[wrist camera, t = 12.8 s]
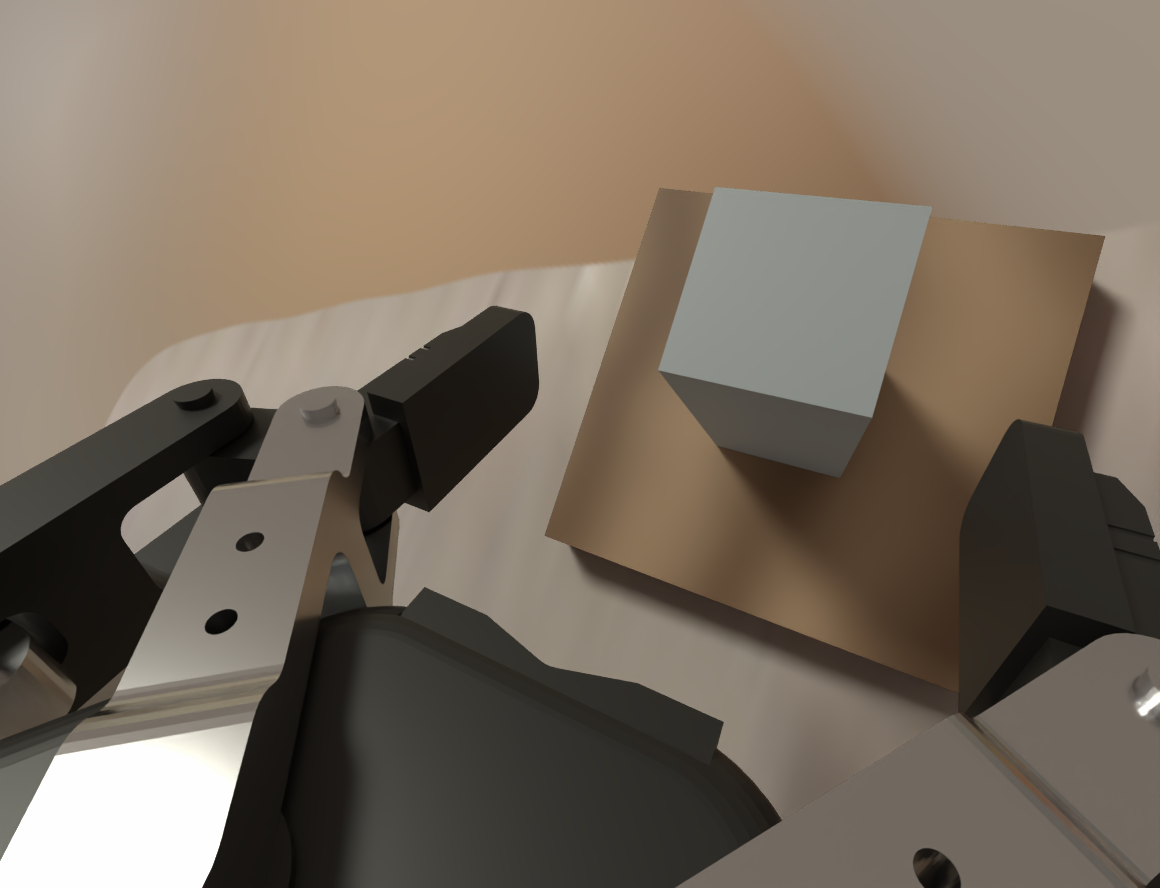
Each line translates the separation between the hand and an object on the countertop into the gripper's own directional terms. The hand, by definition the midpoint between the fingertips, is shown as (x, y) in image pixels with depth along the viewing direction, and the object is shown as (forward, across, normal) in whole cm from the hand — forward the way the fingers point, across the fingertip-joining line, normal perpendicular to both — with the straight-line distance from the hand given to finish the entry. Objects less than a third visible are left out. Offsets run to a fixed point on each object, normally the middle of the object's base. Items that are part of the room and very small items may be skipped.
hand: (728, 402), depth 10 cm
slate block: (+9, 0, +5) cm, 10 cm away
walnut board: (+10, 0, +7) cm, 12 cm away
